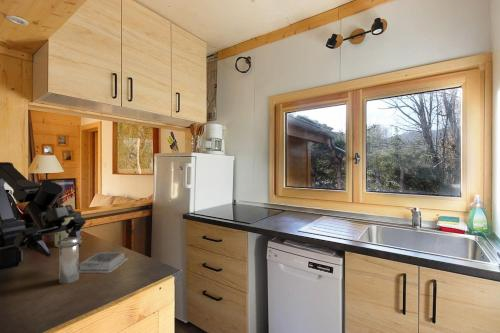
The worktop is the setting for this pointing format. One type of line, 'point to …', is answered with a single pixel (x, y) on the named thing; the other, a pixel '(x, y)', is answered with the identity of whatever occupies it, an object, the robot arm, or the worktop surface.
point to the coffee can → (63, 234)
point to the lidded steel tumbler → (68, 259)
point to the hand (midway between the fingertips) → (65, 250)
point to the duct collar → (102, 263)
